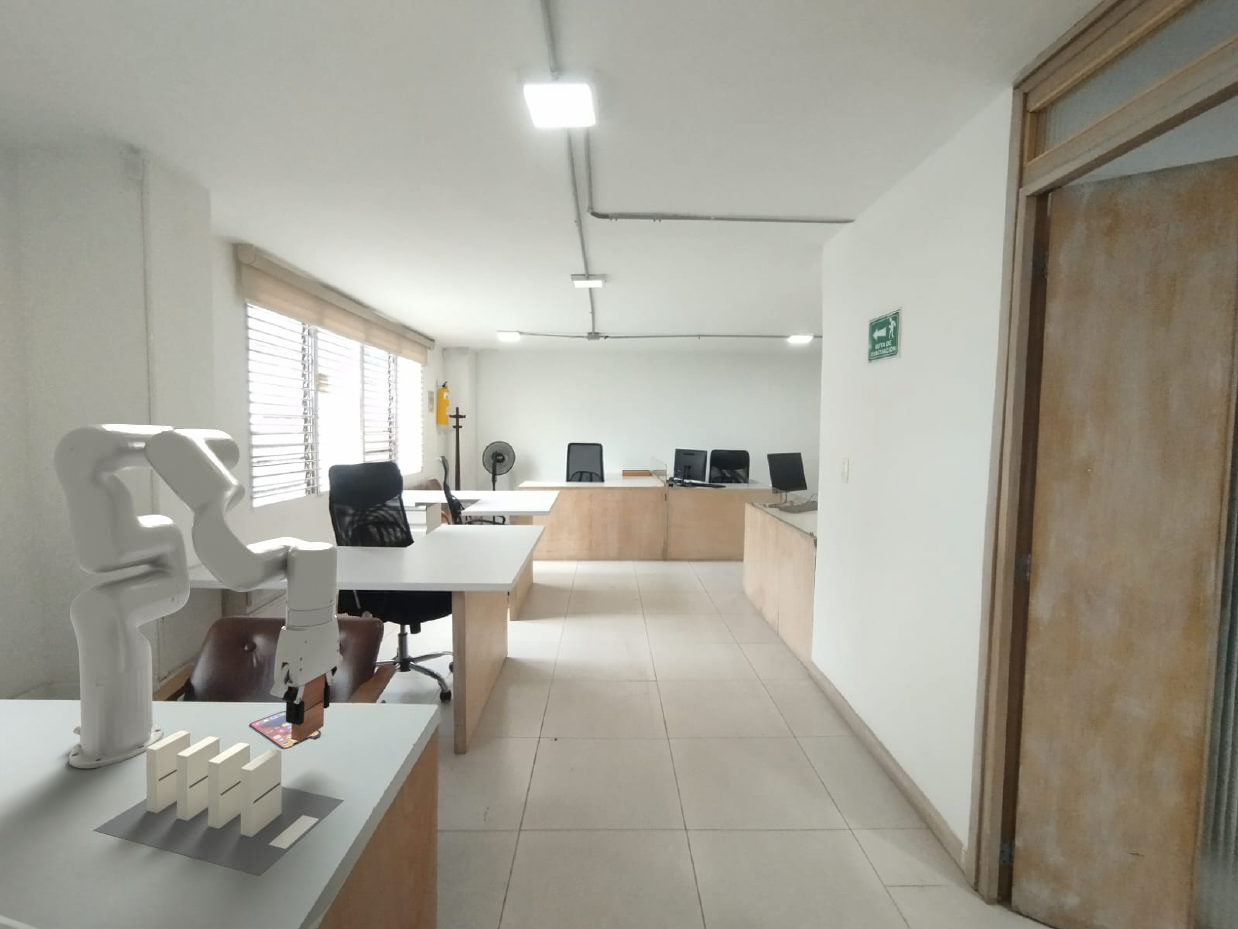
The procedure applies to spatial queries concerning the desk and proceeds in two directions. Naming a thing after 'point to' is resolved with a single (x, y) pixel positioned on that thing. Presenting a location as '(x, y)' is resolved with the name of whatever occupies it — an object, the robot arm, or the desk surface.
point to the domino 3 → (226, 784)
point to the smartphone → (278, 730)
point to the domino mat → (224, 831)
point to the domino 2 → (194, 777)
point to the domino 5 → (311, 709)
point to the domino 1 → (164, 770)
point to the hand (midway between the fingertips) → (308, 713)
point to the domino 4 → (260, 792)
